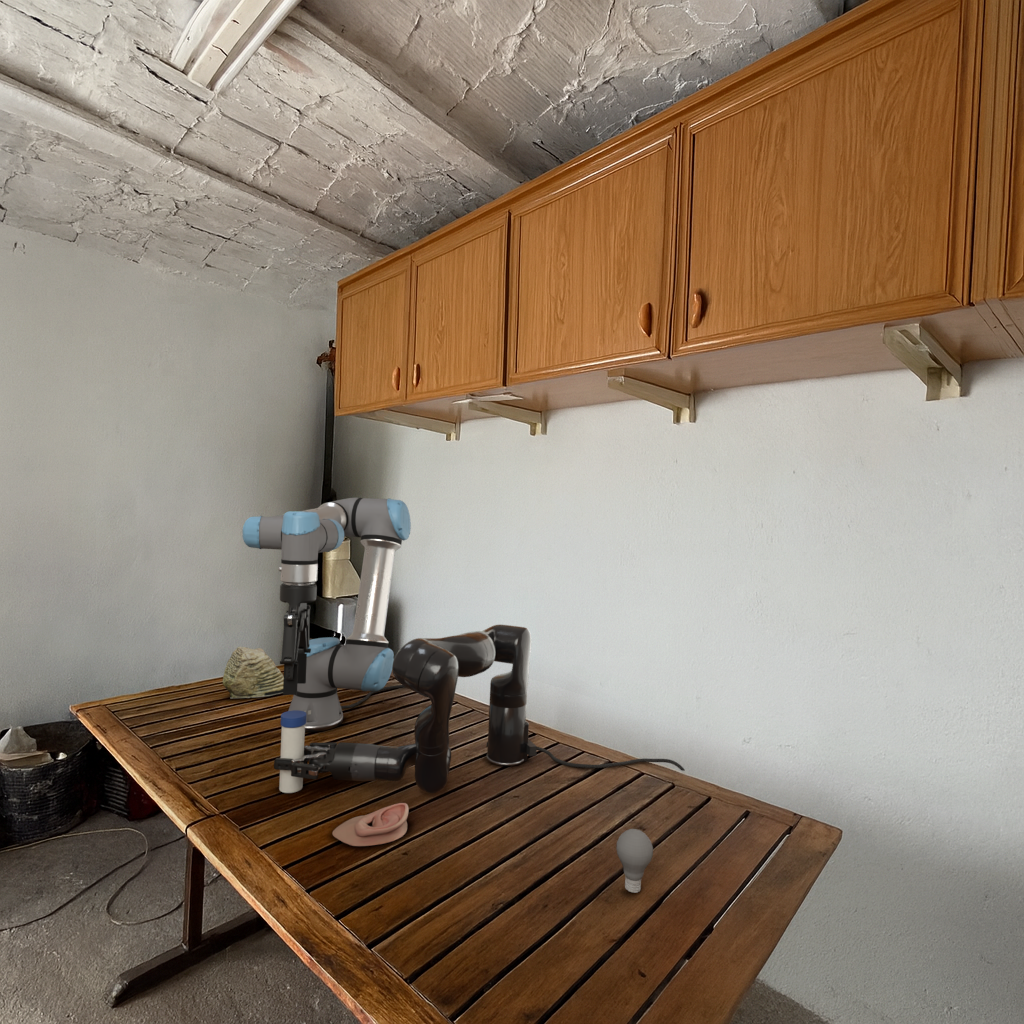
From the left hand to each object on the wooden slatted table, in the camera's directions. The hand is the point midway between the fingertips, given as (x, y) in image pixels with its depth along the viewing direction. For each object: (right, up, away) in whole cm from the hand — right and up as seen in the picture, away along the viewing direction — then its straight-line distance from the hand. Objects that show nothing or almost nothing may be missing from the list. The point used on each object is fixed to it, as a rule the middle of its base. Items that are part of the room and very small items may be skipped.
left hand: (294, 688), depth 137 cm
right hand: (-3, -15, 0) cm, 15 cm away
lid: (0, -6, 0) cm, 6 cm away
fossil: (-34, -19, +61) cm, 72 cm away
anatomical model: (+20, -23, -16) cm, 35 cm away
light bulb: (+67, -25, -31) cm, 78 cm away
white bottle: (-1, -22, 0) cm, 22 cm away
